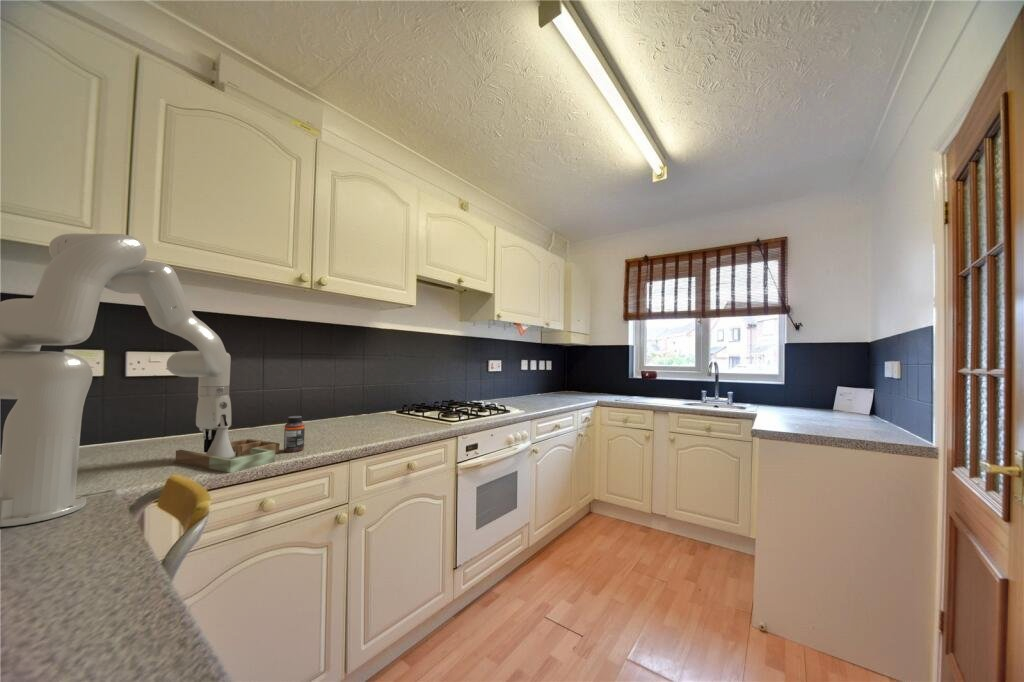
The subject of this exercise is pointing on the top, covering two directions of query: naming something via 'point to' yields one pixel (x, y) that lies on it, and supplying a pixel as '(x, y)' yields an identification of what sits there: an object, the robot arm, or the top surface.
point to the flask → (221, 444)
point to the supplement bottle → (294, 434)
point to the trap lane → (256, 448)
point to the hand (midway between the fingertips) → (211, 451)
